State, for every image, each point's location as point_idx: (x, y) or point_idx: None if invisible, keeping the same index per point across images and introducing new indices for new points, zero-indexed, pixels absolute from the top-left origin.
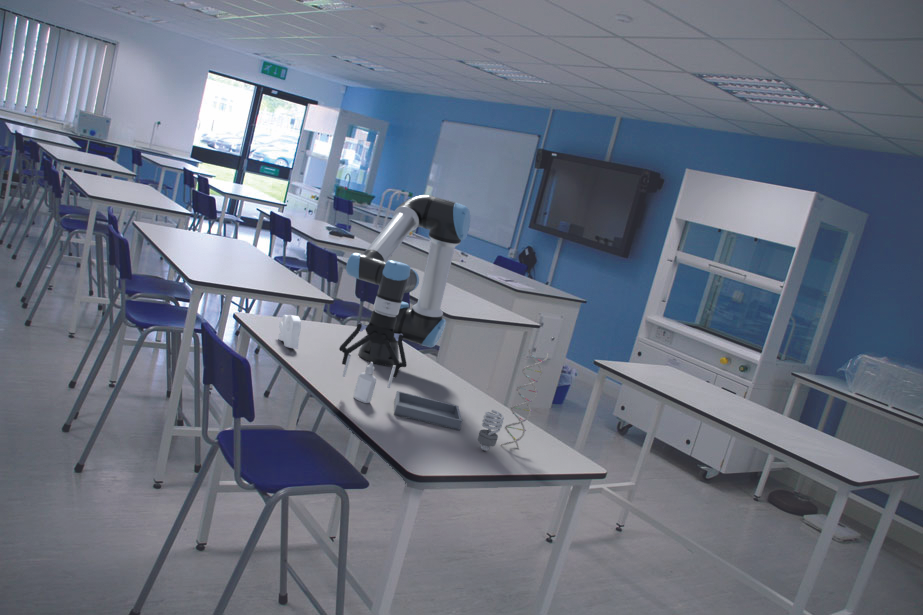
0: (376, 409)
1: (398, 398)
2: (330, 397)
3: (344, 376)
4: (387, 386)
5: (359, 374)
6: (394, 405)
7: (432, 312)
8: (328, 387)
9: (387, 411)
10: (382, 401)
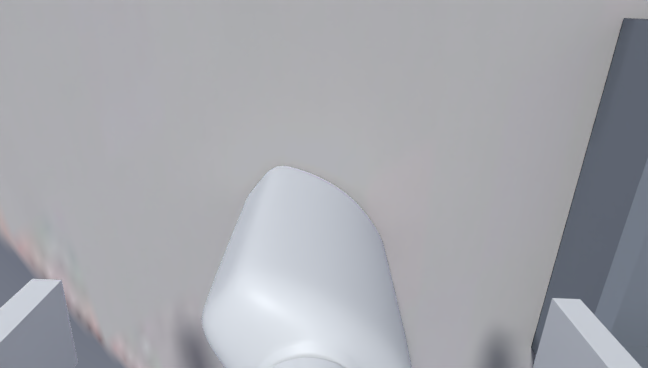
0: (418, 326)
1: (629, 258)
2: (106, 300)
3: (70, 364)
4: (539, 347)
5: (203, 326)
6: (577, 205)
7: None
8: (28, 100)
9: (494, 318)
10: (489, 141)
